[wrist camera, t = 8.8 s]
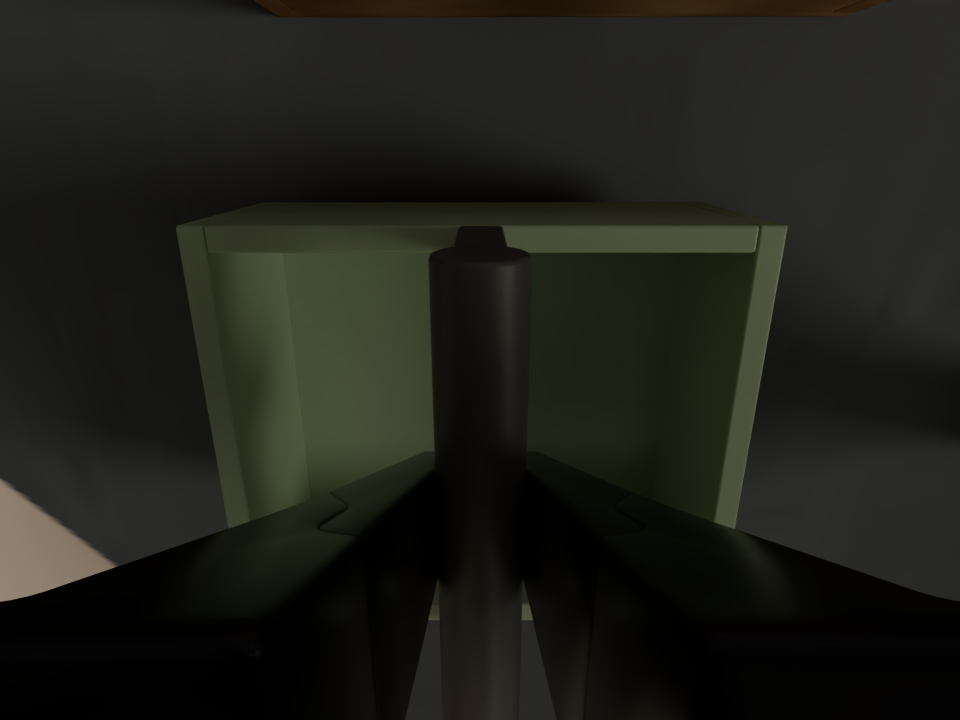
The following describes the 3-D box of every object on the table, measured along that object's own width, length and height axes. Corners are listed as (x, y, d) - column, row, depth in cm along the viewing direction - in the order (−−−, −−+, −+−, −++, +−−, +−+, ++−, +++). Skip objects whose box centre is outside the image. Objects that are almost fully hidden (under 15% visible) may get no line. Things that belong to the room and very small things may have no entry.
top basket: (300, 508, 18) (168, 771, 10) (261, 202, 15) (35, 262, 7) (663, 508, 18) (794, 773, 10) (701, 201, 15) (927, 262, 7)
